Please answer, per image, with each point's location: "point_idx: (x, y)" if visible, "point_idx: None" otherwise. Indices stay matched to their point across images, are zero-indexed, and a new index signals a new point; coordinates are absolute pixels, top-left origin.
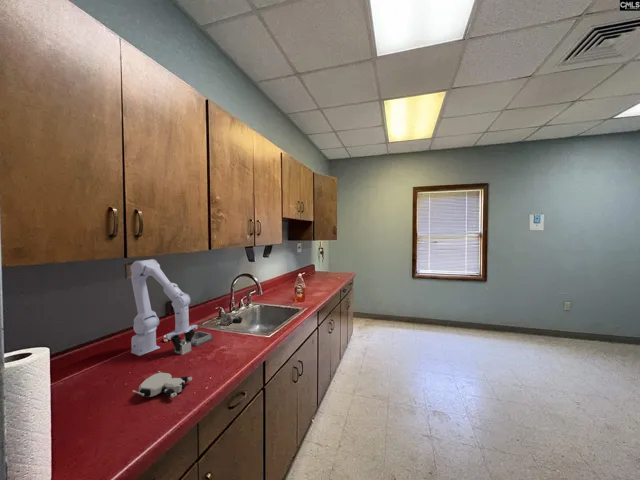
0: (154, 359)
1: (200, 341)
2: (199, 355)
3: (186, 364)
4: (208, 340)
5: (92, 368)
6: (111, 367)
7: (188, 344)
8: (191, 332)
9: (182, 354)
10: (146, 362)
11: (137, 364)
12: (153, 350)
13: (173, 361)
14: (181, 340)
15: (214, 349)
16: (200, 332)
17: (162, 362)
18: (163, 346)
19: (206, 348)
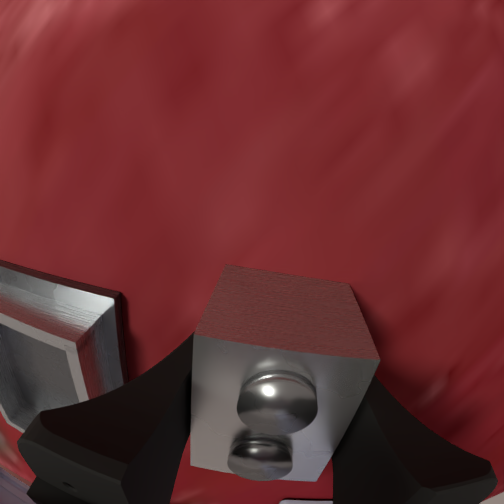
0: (449, 415)
1: (53, 309)
2: (291, 45)
3: (492, 53)
4: (5, 267)
5: (487, 496)
6: (497, 470)
7: (252, 324)
8: (90, 480)
9: (345, 284)
10: (483, 414)
11: (497, 427)
12: (327, 501)
13: (486, 242)
14: (251, 464)
15: (100, 24)
16: (5, 405)
17: (499, 322)
18: (252, 498)
19: (104, 131)
